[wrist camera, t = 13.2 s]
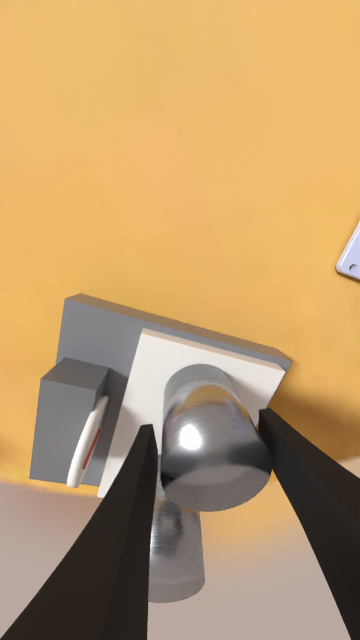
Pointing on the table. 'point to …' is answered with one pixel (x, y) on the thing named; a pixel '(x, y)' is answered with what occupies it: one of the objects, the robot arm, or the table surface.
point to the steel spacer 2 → (209, 442)
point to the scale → (128, 385)
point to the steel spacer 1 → (174, 550)
